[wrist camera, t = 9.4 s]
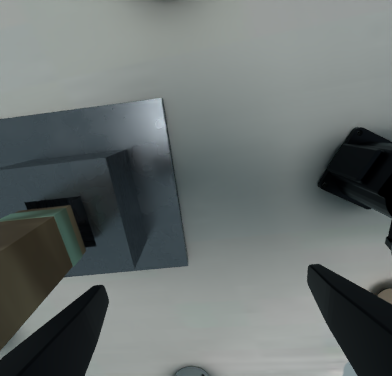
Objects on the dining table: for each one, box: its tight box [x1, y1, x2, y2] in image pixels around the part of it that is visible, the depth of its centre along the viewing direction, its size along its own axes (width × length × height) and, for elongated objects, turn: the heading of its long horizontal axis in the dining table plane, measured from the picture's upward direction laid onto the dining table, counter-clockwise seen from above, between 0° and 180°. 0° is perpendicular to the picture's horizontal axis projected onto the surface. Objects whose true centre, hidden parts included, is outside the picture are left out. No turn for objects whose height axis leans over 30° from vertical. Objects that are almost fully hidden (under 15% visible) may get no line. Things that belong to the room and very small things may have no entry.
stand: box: [0, 98, 188, 277], centre depth 19 cm, size 18×18×6 cm
